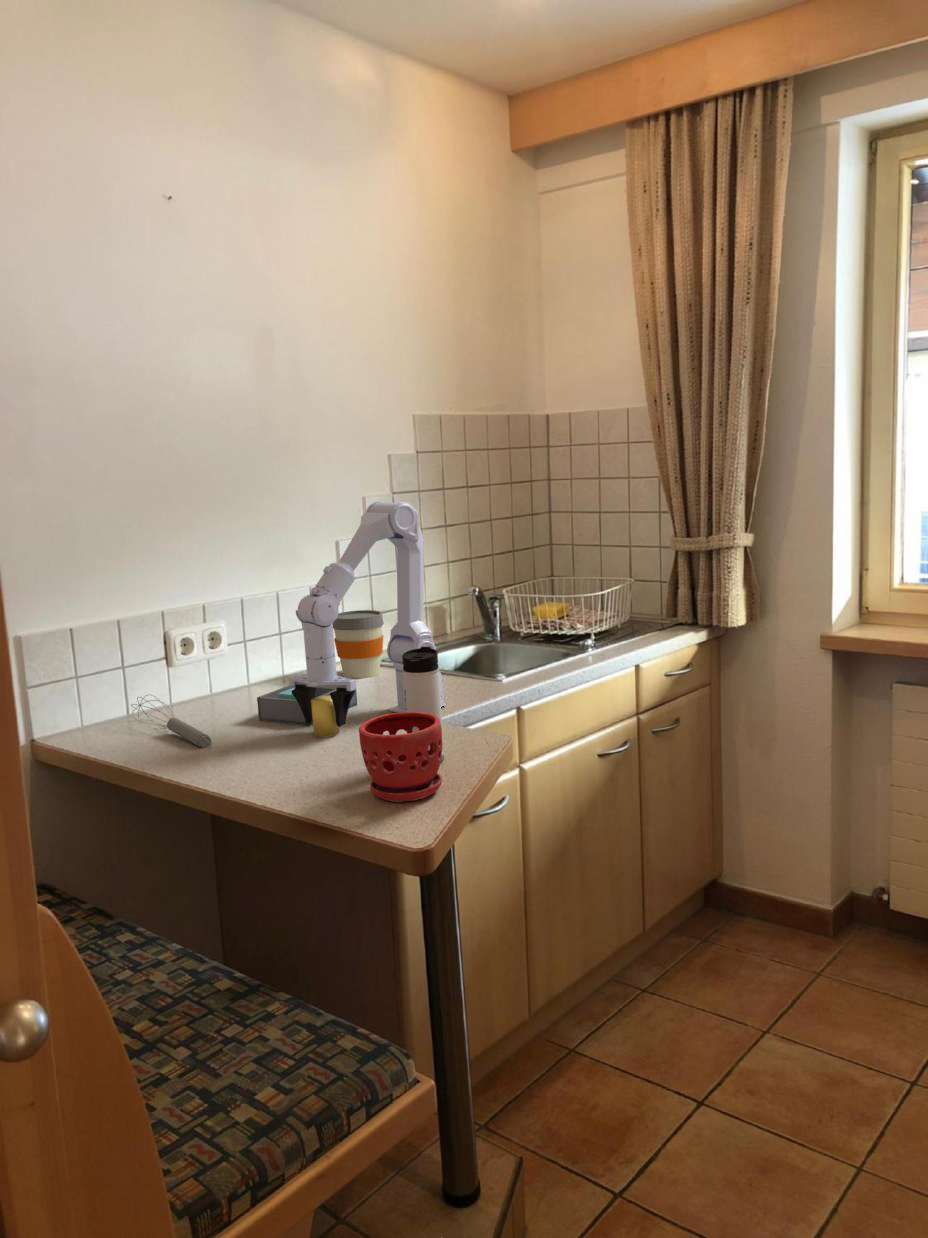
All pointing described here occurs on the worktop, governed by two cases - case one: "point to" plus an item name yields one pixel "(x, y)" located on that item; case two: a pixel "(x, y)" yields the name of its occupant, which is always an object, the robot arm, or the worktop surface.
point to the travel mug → (422, 683)
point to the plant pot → (402, 755)
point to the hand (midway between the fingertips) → (325, 723)
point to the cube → (286, 694)
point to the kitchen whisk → (180, 727)
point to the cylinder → (324, 717)
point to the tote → (288, 706)
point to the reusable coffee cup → (359, 642)
